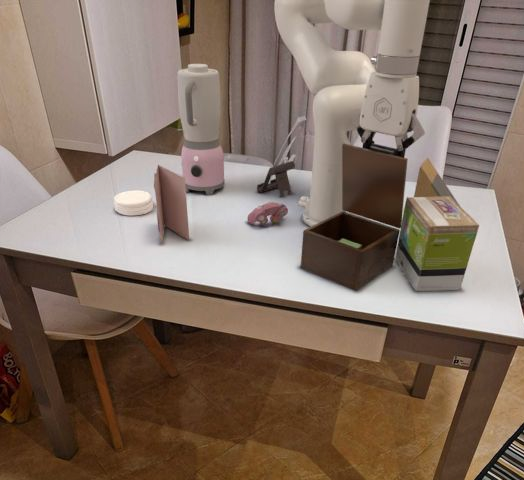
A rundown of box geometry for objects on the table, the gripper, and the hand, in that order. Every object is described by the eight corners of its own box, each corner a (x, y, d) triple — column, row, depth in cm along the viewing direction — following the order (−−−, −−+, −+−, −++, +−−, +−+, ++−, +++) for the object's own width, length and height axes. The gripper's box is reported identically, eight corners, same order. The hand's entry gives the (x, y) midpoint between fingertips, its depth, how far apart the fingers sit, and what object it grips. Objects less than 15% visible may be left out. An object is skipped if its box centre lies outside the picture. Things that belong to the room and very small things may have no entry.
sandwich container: (469, 236, 124) (486, 175, 115) (407, 224, 129) (419, 165, 120) (473, 223, 130) (490, 165, 121) (414, 213, 135) (426, 156, 126)
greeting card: (161, 225, 126) (154, 164, 117) (190, 224, 127) (186, 164, 117) (157, 244, 117) (149, 181, 108) (189, 244, 118) (184, 180, 108)
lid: (406, 159, 94) (419, 149, 96) (342, 144, 101) (355, 134, 104) (399, 228, 105) (411, 217, 107) (342, 210, 112) (354, 200, 114)
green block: (327, 266, 108) (329, 245, 105) (340, 258, 111) (342, 238, 108) (346, 274, 106) (349, 252, 102) (359, 266, 109) (362, 245, 105)
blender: (191, 179, 154) (183, 60, 134) (229, 182, 152) (227, 63, 132) (173, 196, 142) (161, 69, 122) (214, 201, 140) (209, 72, 120)
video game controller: (251, 233, 127) (257, 214, 121) (244, 219, 128) (250, 200, 122) (285, 226, 130) (292, 207, 124) (278, 213, 132) (285, 194, 126)
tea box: (392, 258, 113) (405, 195, 104) (435, 257, 114) (451, 194, 105) (414, 292, 102) (430, 224, 93) (461, 291, 102) (482, 223, 93)
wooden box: (356, 291, 102) (362, 252, 96) (300, 267, 109) (303, 230, 104) (392, 266, 110) (400, 229, 105) (338, 246, 118) (342, 211, 113)
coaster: (108, 212, 132) (105, 199, 130) (129, 200, 139) (127, 187, 137) (140, 218, 129) (138, 205, 127) (160, 205, 136) (159, 193, 134)
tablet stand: (277, 185, 151) (278, 156, 146) (296, 191, 147) (298, 162, 142) (256, 192, 146) (257, 163, 141) (276, 199, 142) (277, 169, 136)
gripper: (346, 63, 93) (335, 161, 104) (431, 74, 85) (410, 180, 95) (367, 59, 98) (355, 153, 109) (449, 69, 89) (427, 171, 100)
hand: (381, 165), depth 102 cm, fingers closed on lid, 6 cm apart
